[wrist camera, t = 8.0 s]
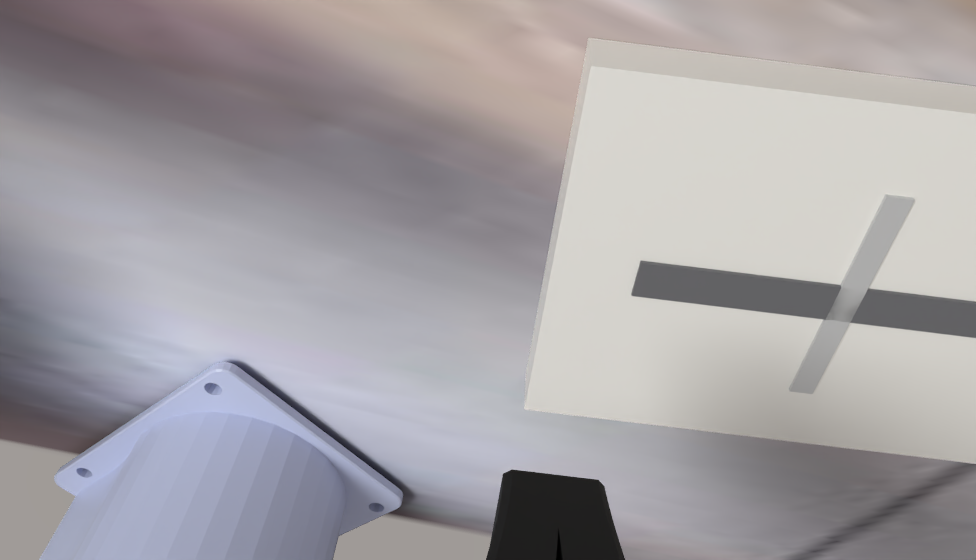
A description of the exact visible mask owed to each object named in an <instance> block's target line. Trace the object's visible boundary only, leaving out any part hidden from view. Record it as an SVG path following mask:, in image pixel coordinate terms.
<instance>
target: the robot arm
mask: <svg viewBox="0 0 976 560" xmlns="http://www.w3.org/2000/svg"><path fill="white" fill-rule="evenodd" d="M213 383H215V384H217V385H215V384H213ZM54 480H55V482H56V483H57V485H58V486H60V487H61V488H63V489H64V490H66V491H68V492H69V493H71V494H73V495H75V496H76V497H75V499H74V500H73V502H72V504H71V506H70V507H69V509H68V511H67V513H66V514H65V516H64V518H63V520H62V521H61V523H60V525H59V526H58V528H57V530H56V531H55V533H54V535H53V537H52V538H51V540H50V542H49V543H48V545H47V547H46V549H45V551H44V552H43V554H42V555H41V557H40V559H39V560H333V556H334V552H335V548H336V544H337V540H338V536H340V535H342V534H344V533H346V532H348V531H350V530H353V529H355V528H357V527H359V526H361V525H363V524H366V523H368V522H370V521H372V520H374V519H376V518H378V517H381V516H383V515H385V514H387V513H389V512H391V511H393V510H396V509H398V508H399V507H400V506H401V504H402V499H403V493H402V491H401V490H400V489H399V488H398V487H396V486H395V485H394V484H392V483H391V482H390V481H388V480H387V479H386V478H385V477H383V476H382V475H381V474H379V473H378V472H377V471H375V470H374V469H373V468H371V467H370V466H369V465H367V464H366V463H365V462H363V461H362V460H361V459H359V458H358V457H357V456H355V455H354V454H353V453H351V452H350V451H349V450H348V449H346V448H345V447H344V446H342V445H341V444H340V443H338V442H337V441H336V440H334V439H333V438H332V437H330V436H329V435H328V434H326V433H325V432H324V431H322V430H321V429H320V428H318V427H317V426H316V425H314V424H313V423H312V422H311V421H309V420H308V419H307V418H305V417H304V416H303V415H301V414H300V413H299V412H297V411H296V410H295V409H293V408H292V407H291V406H289V405H288V404H287V403H285V402H284V401H283V400H281V399H280V398H279V397H277V396H276V395H275V394H273V393H272V392H271V391H270V390H268V389H267V388H266V387H264V386H263V385H262V384H260V383H259V382H258V381H256V380H255V379H254V378H252V377H251V376H250V375H248V374H247V373H246V372H244V371H243V370H242V369H240V368H239V367H238V366H236V365H234V364H233V363H229V362H218V363H216V364H214V365H212V366H211V367H209V368H208V369H206V370H205V371H203V372H202V373H200V374H199V375H197V376H196V377H194V378H193V379H191V380H190V381H188V382H187V383H185V384H184V385H182V386H181V387H179V388H178V389H176V390H175V391H173V392H172V393H170V394H169V395H167V396H166V397H164V398H163V399H161V400H160V401H159V402H157V403H156V404H154V405H153V406H151V407H150V408H148V409H147V410H145V411H144V412H142V413H141V414H139V415H138V416H136V417H135V418H133V419H132V420H130V421H129V422H127V423H126V424H124V425H123V426H121V427H120V428H118V429H117V430H115V431H114V432H112V433H111V434H109V435H108V436H106V437H105V438H103V439H102V440H101V441H99V442H98V443H96V444H95V445H93V446H92V447H90V448H89V449H87V450H86V451H84V452H83V453H81V454H80V455H78V456H77V457H75V458H74V459H72V460H71V461H69V462H68V463H66V464H65V465H63V466H62V467H61V468H60V469H59V470H58V472H57V473H56V475H55V477H54ZM486 560H625V558H624V555H623V552H622V549H621V546H620V543H619V539H618V536H617V533H616V530H615V526H614V523H613V519H612V516H611V512H610V508H609V505H608V501H607V496H606V492H605V488H604V486H603V484H602V483H601V482H600V481H599V480H594V479H586V478H577V477H569V476H561V475H552V474H544V473H536V472H527V471H519V470H510V471H508V472H506V473H504V474H503V478H502V483H501V488H500V494H499V499H498V505H497V510H496V516H495V521H494V527H493V532H492V538H491V544H490V548H489V551H488V555H487V558H486Z"/></svg>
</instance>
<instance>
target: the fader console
mask: <svg viewBox="0 0 976 560" xmlns="http://www.w3.org/2000/svg"><path fill="white" fill-rule="evenodd" d="M524 410H532V411H541V412H549V413H557V414H566V415H574V416H582V417H590V418H599V419H607V420H615V421H624V422H632V423H640V424H649V425H657V426H665V427H673V428H682V429H690V430H698V431H707V432H715V433H723V434H732V435H740V436H748V437H756V438H765V439H773V440H781V441H790V442H798V443H806V444H815V445H823V446H831V447H839V448H848V449H856V450H864V451H873V452H881V453H889V454H898V455H906V456H914V457H922V458H931V459H939V460H947V461H956V462H964V463H972V464H976V86H970V85H962V84H954V83H946V82H938V81H930V80H922V79H914V78H906V77H898V76H890V75H882V74H874V73H866V72H858V71H850V70H842V69H834V68H826V67H818V66H810V65H803V64H795V63H787V62H779V61H771V60H763V59H755V58H747V57H739V56H731V55H723V54H715V53H707V52H699V51H691V50H683V49H675V48H667V47H659V46H651V45H643V44H635V43H627V42H620V41H612V40H604V39H596V38H588V42H587V47H586V53H585V58H584V63H583V69H582V74H581V79H580V85H579V90H578V95H577V101H576V106H575V111H574V117H573V122H572V127H571V133H570V138H569V143H568V149H567V154H566V160H565V165H564V170H563V176H562V181H561V186H560V192H559V197H558V202H557V208H556V213H555V218H554V224H553V229H552V234H551V240H550V245H549V250H548V256H547V261H546V266H545V272H544V277H543V282H542V288H541V293H540V298H539V304H538V309H537V314H536V320H535V325H534V330H533V336H532V341H531V346H530V352H529V357H528V362H527V368H526V381H525V405H524Z"/></svg>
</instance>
